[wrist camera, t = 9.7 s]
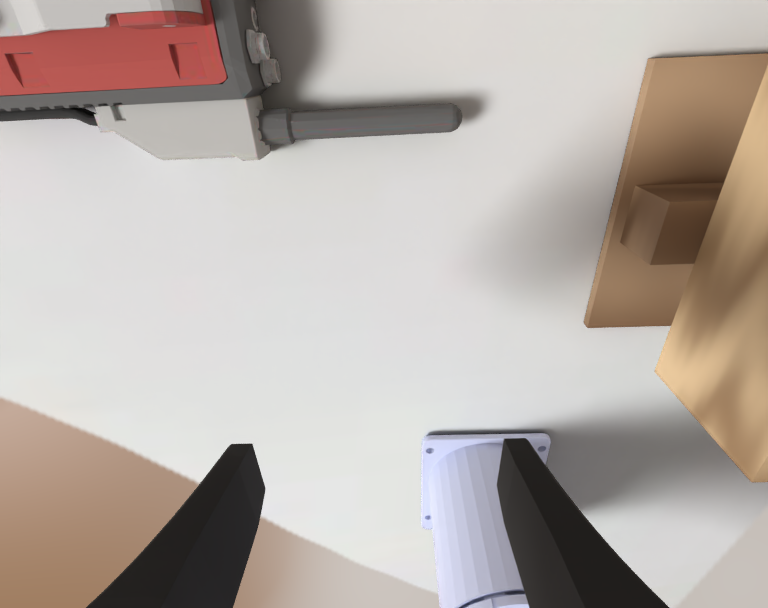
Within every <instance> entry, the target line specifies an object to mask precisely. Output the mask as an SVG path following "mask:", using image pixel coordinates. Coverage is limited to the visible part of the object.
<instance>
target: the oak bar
mask: <svg viewBox="0 0 768 608" xmlns="http://www.w3.org/2000/svg"><path fill="white" fill-rule="evenodd" d="M654 372H655V373H656V374H657V375H658V376H659V377H660V378H661V380H662V381H663V382H664V383H665V384H666V385H667V386H668V388H669V389H670V390H671V391H672V392H673V393H674V394H675V396H676V397H677V398H678V399H679V400H680V401H681V402H682V404H683V405H684V406H685V407H686V408H687V409H688V410H689V412H690V413H691V414H692V415H693V416H694V417H695V418H696V420H697V421H698V422H699V423H700V424H701V425H702V426H703V428H704V429H705V430H706V431H707V432H708V433H709V434H710V436H711V437H712V438H713V439H714V440H715V441H716V442H717V444H718V445H719V446H720V447H721V448H722V449H723V450H724V452H725V453H726V454H727V455H728V456H729V457H730V458H731V460H732V461H733V462H734V463H735V464H736V465H737V466H738V468H739V469H740V470H741V471H742V472H743V473H744V474H745V475H746V477H747V478H748V479H749V480H750V481H751V482H768V66H767V68H766V71H765V74H764V77H763V79H762V82H761V85H760V87H759V90H758V93H757V95H756V98H755V101H754V104H753V106H752V109H751V112H750V114H749V117H748V120H747V122H746V125H745V128H744V131H743V133H742V136H741V139H740V141H739V144H738V147H737V149H736V152H735V155H734V158H733V160H732V163H731V166H730V168H729V171H728V174H727V177H726V179H725V182H724V185H723V187H722V190H721V193H720V195H719V198H718V201H717V204H716V206H715V209H714V212H713V214H712V217H711V220H710V222H709V225H708V228H707V231H706V233H705V236H704V239H703V241H702V244H701V247H700V249H699V252H698V255H697V258H696V260H695V263H694V266H693V268H692V271H691V274H690V276H689V279H688V282H687V285H686V287H685V290H684V293H683V295H682V298H681V301H680V304H679V306H678V309H677V312H676V314H675V317H674V320H673V322H672V325H671V328H670V331H669V333H668V336H667V339H666V341H665V344H664V347H663V349H662V352H661V355H660V358H659V360H658V363H657V366H656V368H655V371H654Z"/></svg>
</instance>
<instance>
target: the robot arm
mask: <svg viewBox="0 0 768 608" xmlns="http://www.w3.org/2000/svg"><path fill="white" fill-rule="evenodd" d="M550 444H551V440H550V437H549V436H548V435H547V434H544V433H530V434H477V435H429V436H426V437H424V438H423V439H422V485H421V526H422V527H423V528H424V529H433V540H434V550H435V561H436V572H437V582H438V593H439V604H440V608H669V607H668V606H667V605H666V604H665V603H664V602H663V601H662V600H661V599H660V598H659V597H658V596H657V595H656V594H655V593H654V592H653V591H652V590H651V589H650V588H649V587H648V586H647V585H646V584H645V583H644V582H643V581H642V580H641V579H640V578H639V577H638V576H637V575H636V574H635V573H634V572H633V571H632V570H631V568H630V567H629V566H628V565H627V564H626V563H625V562H624V561H623V560H622V559H621V558H620V557H619V556H618V554H617V553H616V552H615V551H614V550H613V549H612V548H611V547H610V546H609V544H608V543H607V542H606V541H605V540H604V539H603V537H602V536H601V535H600V534H599V533H598V532H597V531H596V529H595V528H594V527H593V526H592V525H591V523H590V522H589V521H588V520H587V519H586V517H585V516H584V515H583V514H582V512H581V511H580V510H579V509H578V507H577V506H576V505H575V504H574V502H573V501H572V500H571V499H570V497H569V496H568V495H567V494H566V492H565V491H564V490H563V488H562V487H561V486H560V484H559V483H558V482H557V480H556V479H555V478H554V476H553V475H552V473H551V472H550V471H549V469H548V468H547V467H546V461H547V457H548V453H549V449H550ZM428 448H431V449H428ZM264 494H265V486H264V482H263V479H262V475H261V472H260V469H259V465H258V462H257V458H256V455H255V452H254V448H253V445H252V444H231V445H230V446H229V447H228V448H227V449H226V451H225V452H224V453H223V455H222V456H221V457H220V459H219V460H218V461H217V462H216V464H215V465H214V466H213V468H212V469H211V470H210V472H209V473H208V474H207V475H206V477H205V478H204V479H203V481H202V482H201V483H200V484H199V486H198V487H197V488H196V489H195V491H194V492H193V493H192V494H191V496H190V497H189V498H188V499H187V500H186V502H185V503H184V504H183V505H182V506H181V508H180V509H179V510H178V511H177V513H176V514H175V515H174V516H173V517H172V519H171V520H170V521H169V522H168V523H167V524H166V525H165V526H164V528H163V529H162V530H161V531H160V532H159V533H158V534H157V536H156V537H155V538H154V539H153V540H152V541H151V542H150V543H149V545H148V546H147V547H146V548H145V549H144V550H143V551H142V552H141V553H140V554H139V556H138V557H137V558H136V559H135V560H134V561H133V562H132V563H131V564H130V565H129V566H128V567H127V568H126V569H125V570H124V571H123V572H122V573H121V574H120V575H119V576H118V577H117V578H116V579H115V580H114V581H113V582H112V583H111V584H110V585H109V586H108V587H107V588H106V589H105V590H104V591H103V592H102V593H101V594H100V595H99V596H98V597H97V598H96V599H95V600H94V601H93V602H91V603H90V604H89V605H88V606H87V607H86V608H233V605H234V602H235V599H236V595H237V593H238V590H239V586H240V583H241V580H242V577H243V574H244V570H245V567H246V564H247V561H248V558H249V554H250V551H251V548H252V545H253V542H254V538H255V535H256V532H257V528H258V525H259V520H260V515H261V510H262V505H263V499H264Z"/></svg>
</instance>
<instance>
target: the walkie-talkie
mask: <svg viewBox="0 0 768 608" xmlns="http://www.w3.org/2000/svg"><path fill="white" fill-rule="evenodd" d="M269 58H270V50H269V43H268V40H267V37H266V34H265V33H260V31H259V25H258V19H257V13H256V7H255V1H254V0H0V121H17V120H36V119H69V118H73V119H78V120H80V121H82V122H85V123H87V124H89V125H95V126H98V127H99V130H100V132H115V133H116V134H118V135H120V136H121V137H123V138H125V139H126V140H128V141H130V142H131V143H133V144H135V145H136V146H138V147H140V148H141V149H143V150H145V151H146V152H148V153H150V154H152V155H153V156H155V157H157V158H159V159H162V160H178V159H202V158H225V157H237V158H239V159H241V160H243V161H246V160H260V159H262V158H263V157H264V156H266V155H267V154H269V153H270V145H278V144H292V143H294V142H295V140H304V139H324V138H344V137H364V136H383V135H403V134H423V133H442V132H452V131H454V130H456V129H457V128H458V127H459V125H460V123H461V121H462V113H461V110H460V109H459V108H458V107H457V106H456V105H454V104H452V103H450V104H431V105H411V106H392V107H372V108H353V109H333V110H314V111H294V112H293V111H292V110H290V109H289V108H282V109H263V104H262V98H261V96H260V95H261V94H262V93H263V92H264V91H265V90H266V89H267V87H268V86H271V83H279V82H280V81H281V73H280V67H279V64H278V61H277V59H272V58H271V59H269ZM91 106H94V107H95V109H96V112H97V114H96V113H94V112H91V111H89V110H87V109H84V108H81V107H91ZM75 107H80V108H75Z"/></svg>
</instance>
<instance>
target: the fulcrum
mask: <svg viewBox="0 0 768 608" xmlns="http://www.w3.org/2000/svg"><path fill="white" fill-rule="evenodd" d="M767 66H768V53H764V54H742V55H719V56H697V57H675V58H653V59H648V61H647V65H646V69H645V73H644V77H643V82H642V86H641V90H640V94H639V98H638V102H637V106H636V110H635V114H634V118H633V122H632V127H631V131H630V135H629V139H628V143H627V147H626V151H625V155H624V159H623V163H622V167H621V172H620V176H619V180H618V184H617V188H616V192H615V196H614V200H613V204H612V208H611V212H610V216H609V221H608V225H607V229H606V233H605V237H604V241H603V245H602V249H601V253H600V257H599V261H598V266H597V270H596V274H595V278H594V282H593V286H592V290H591V294H590V298H589V302H588V306H587V311H586V315H585V319H584V324H585V325H586V327H587V328H603V327H641V326H671V325H672V322H673V320H674V317H675V314H676V312H677V309H678V306H679V304H680V301H681V298H682V295H683V293H684V290H685V287H686V285H687V282H688V279H689V276H690V274H691V271H692V268H693V266H694V263H695V260H696V258H697V255H698V252H699V249H700V247H701V244H702V241H703V239H704V236H705V233H706V231H707V228H708V225H709V222H710V220H711V217H712V214H713V212H714V209H715V206H716V204H717V201H718V198H719V195H720V193H721V190H722V187H723V185H724V182H725V179H726V177H727V174H728V171H729V168H730V166H731V163H732V160H733V158H734V155H735V152H736V149H737V147H738V144H739V141H740V139H741V136H742V133H743V131H744V128H745V125H746V122H747V120H748V117H749V114H750V112H751V109H752V106H753V104H754V101H755V98H756V95H757V93H758V90H759V87H760V85H761V82H762V79H763V77H764V74H765V71H766V68H767Z"/></svg>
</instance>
